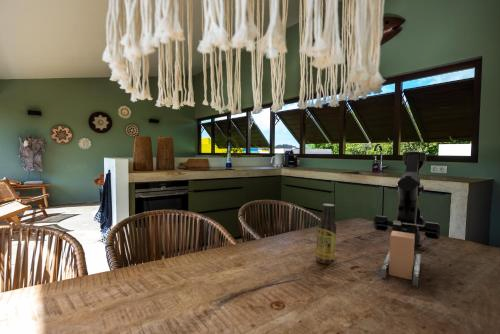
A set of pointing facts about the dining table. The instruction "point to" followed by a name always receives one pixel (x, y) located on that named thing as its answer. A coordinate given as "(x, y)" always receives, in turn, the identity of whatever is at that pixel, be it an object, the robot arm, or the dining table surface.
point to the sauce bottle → (326, 235)
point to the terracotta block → (401, 254)
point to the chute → (415, 274)
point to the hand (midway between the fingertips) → (402, 249)
